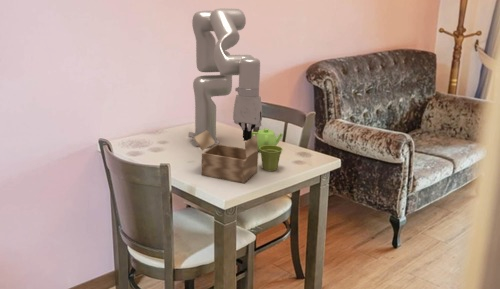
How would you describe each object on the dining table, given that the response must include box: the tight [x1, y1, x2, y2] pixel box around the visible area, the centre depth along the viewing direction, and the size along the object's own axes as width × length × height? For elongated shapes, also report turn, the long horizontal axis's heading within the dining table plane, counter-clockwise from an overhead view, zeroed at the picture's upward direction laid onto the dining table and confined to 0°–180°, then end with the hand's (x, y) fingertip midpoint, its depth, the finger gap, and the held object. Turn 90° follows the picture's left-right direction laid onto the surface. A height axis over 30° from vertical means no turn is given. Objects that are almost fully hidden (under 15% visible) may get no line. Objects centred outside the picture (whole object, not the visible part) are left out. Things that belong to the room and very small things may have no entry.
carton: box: [201, 143, 259, 185], centre depth 191 cm, size 18×13×9 cm
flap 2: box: [244, 135, 258, 158], centre depth 185 cm, size 6×11×1 cm
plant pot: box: [259, 145, 283, 172], centre depth 198 cm, size 9×9×9 cm
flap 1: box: [194, 130, 215, 151], centre depth 192 cm, size 6×11×1 cm
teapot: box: [251, 128, 284, 153], centre depth 221 cm, size 12×12×10 cm
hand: (247, 140), depth 185 cm, fingers closed
